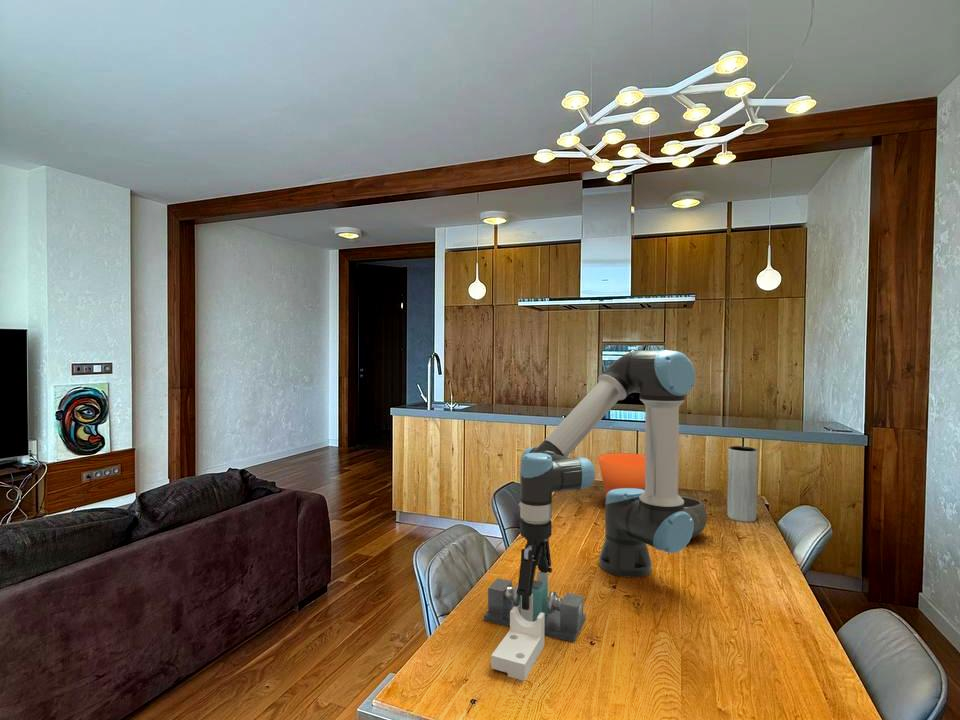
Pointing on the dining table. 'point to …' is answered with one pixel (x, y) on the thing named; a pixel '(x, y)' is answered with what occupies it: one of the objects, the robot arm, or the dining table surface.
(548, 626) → the shaft bench
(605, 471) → the flowerpot
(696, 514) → the bowl
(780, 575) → the dining table surface
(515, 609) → the bracket
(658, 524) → the robot arm
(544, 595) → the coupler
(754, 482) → the vase
